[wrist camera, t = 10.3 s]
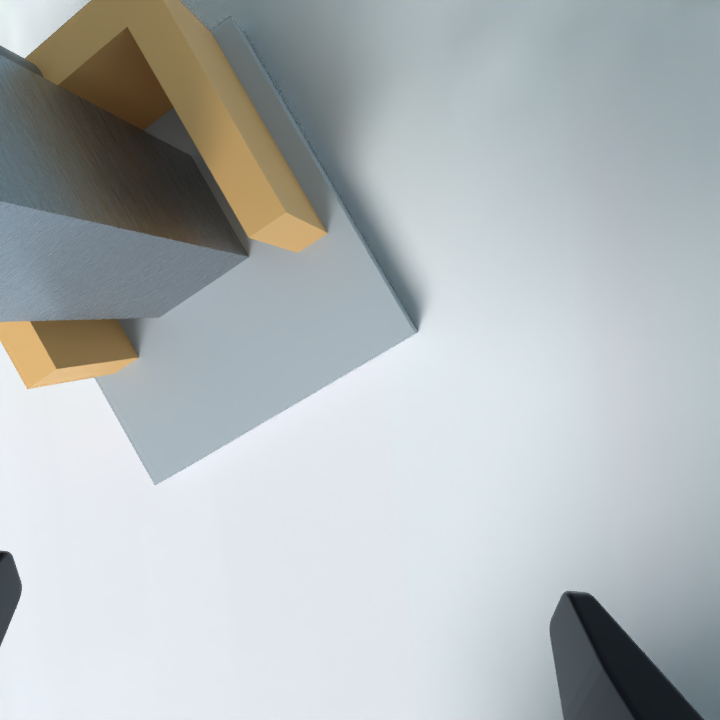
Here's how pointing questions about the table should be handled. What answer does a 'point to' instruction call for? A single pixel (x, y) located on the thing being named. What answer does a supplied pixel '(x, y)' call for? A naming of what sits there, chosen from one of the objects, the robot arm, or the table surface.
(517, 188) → the table surface
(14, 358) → the keeper bracket
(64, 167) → the rectangular block
